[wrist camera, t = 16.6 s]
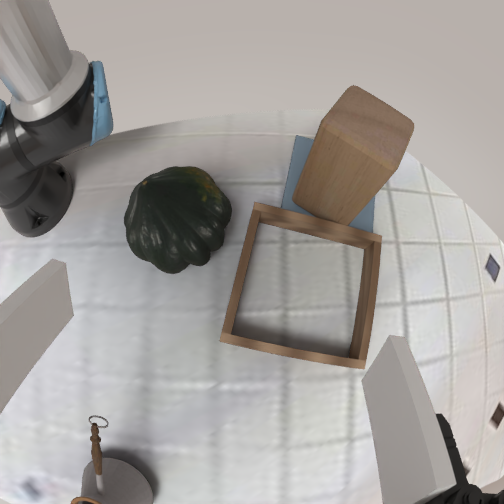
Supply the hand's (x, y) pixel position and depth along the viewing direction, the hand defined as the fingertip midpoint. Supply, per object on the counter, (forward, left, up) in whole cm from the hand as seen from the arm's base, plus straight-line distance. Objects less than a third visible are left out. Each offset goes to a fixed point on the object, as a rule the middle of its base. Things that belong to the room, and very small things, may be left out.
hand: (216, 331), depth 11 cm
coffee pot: (-11, -23, -33) cm, 41 cm away
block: (+11, +27, -32) cm, 43 cm away
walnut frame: (+9, +10, -33) cm, 35 cm away
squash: (-11, +14, -33) cm, 37 cm away
